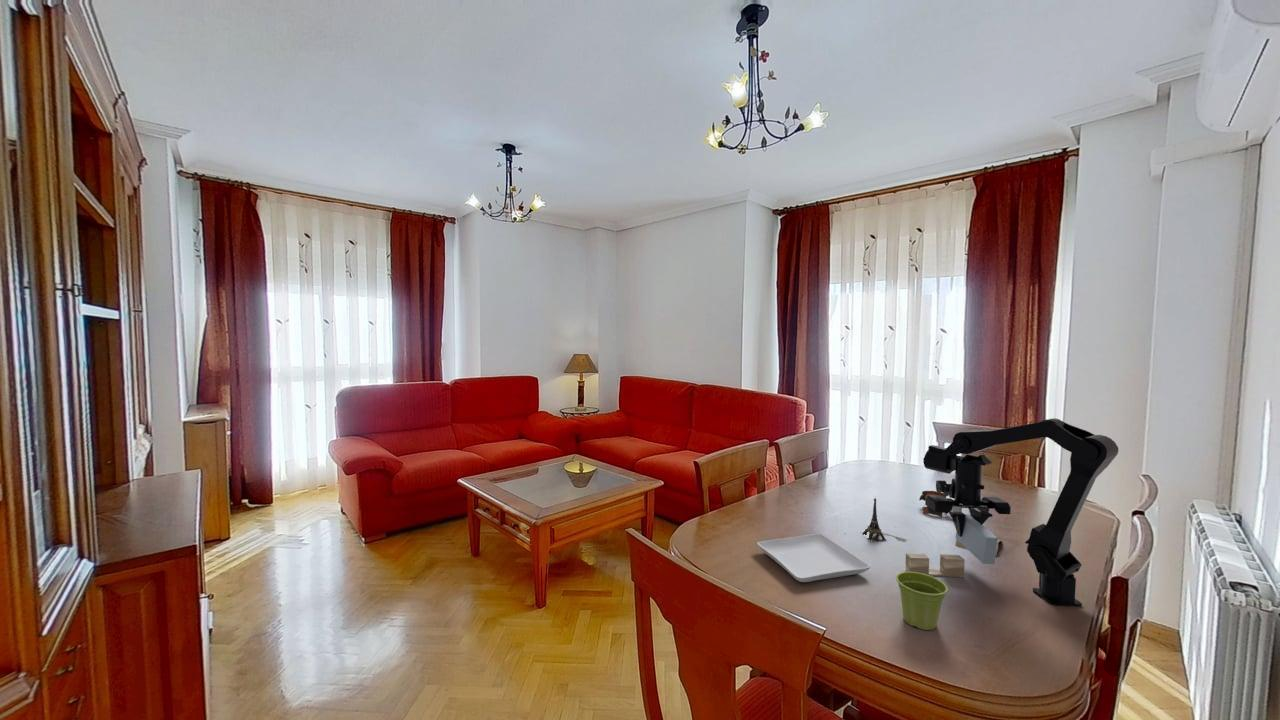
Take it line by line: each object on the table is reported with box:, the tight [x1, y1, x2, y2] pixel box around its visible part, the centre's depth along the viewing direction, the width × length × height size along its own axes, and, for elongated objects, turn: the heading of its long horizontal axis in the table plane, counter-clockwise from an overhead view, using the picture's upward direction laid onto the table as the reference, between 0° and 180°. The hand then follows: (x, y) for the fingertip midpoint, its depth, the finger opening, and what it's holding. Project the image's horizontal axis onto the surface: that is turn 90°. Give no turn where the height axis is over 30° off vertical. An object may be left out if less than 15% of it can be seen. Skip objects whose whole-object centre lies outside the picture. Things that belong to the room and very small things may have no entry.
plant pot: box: [895, 571, 949, 631], centre depth 103 cm, size 9×9×9 cm
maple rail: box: [904, 552, 966, 578], centre depth 124 cm, size 3×13×4 cm, turn 86°
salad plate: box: [756, 533, 871, 583], centre depth 129 cm, size 21×21×3 cm
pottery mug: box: [918, 490, 954, 518], centre depth 166 cm, size 12×10×8 cm
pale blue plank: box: [955, 513, 999, 565], centre depth 125 cm, size 12×3×7 cm, turn 176°
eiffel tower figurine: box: [861, 497, 908, 543], centre depth 146 cm, size 15×10×13 cm
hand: (965, 536), depth 129 cm, fingers closed on pale blue plank, 3 cm apart
